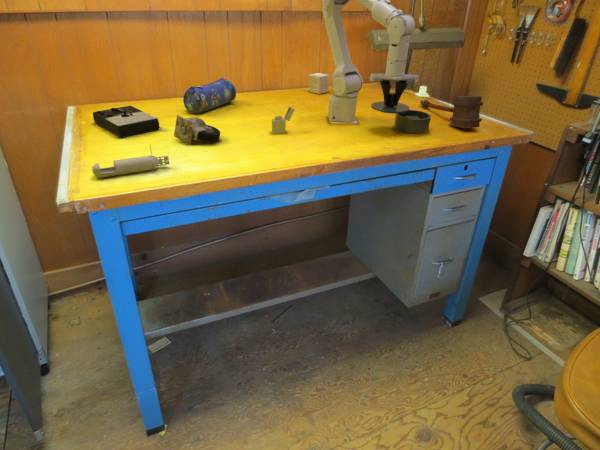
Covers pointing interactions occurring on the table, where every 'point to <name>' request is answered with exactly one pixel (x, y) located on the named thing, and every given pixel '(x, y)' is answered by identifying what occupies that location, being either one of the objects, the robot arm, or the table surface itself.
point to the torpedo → (130, 165)
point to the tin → (412, 122)
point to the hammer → (461, 111)
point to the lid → (390, 106)
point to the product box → (318, 83)
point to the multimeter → (126, 121)
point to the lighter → (281, 122)
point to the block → (412, 117)
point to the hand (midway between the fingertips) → (390, 105)
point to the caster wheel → (195, 130)
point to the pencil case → (209, 96)
